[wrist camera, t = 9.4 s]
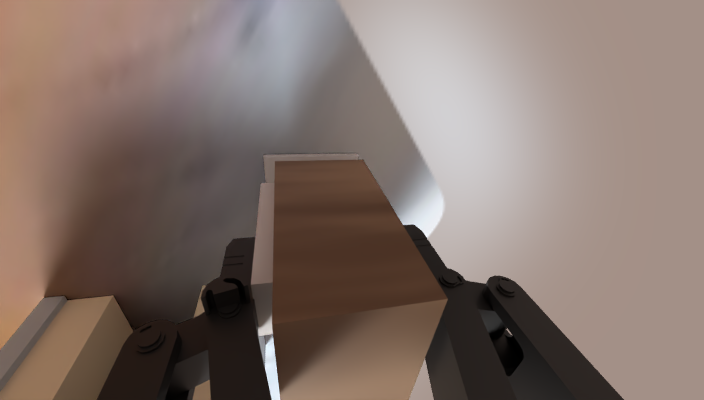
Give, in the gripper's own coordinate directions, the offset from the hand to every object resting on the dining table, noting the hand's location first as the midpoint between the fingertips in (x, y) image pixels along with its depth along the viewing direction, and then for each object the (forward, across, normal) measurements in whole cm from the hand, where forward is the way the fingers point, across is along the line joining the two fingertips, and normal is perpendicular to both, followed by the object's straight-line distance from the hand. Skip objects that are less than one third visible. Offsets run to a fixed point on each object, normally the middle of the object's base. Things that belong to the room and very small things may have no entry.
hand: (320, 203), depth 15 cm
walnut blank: (0, 0, -5) cm, 5 cm away
